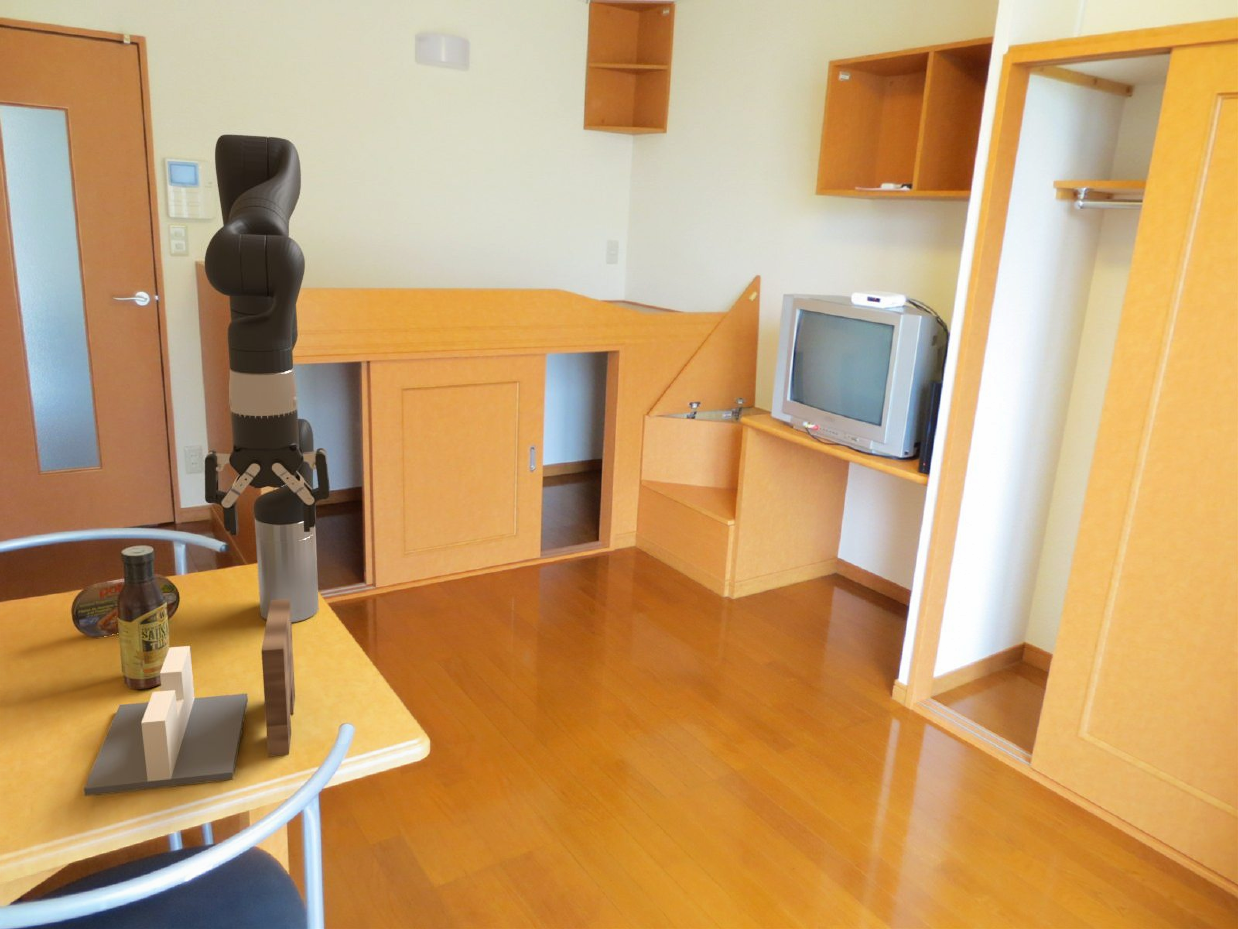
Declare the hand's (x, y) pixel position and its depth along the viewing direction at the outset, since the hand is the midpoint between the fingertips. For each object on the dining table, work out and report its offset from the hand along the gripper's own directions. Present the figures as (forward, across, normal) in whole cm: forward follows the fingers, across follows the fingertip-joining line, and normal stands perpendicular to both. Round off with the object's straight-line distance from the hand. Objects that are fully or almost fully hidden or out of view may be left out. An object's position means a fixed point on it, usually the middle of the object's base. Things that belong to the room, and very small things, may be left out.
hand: (271, 531), depth 114 cm
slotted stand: (+28, +13, +2) cm, 31 cm away
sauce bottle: (+28, +19, -15) cm, 37 cm away
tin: (+28, +25, -32) cm, 49 cm away
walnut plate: (+28, 0, 0) cm, 28 cm away
